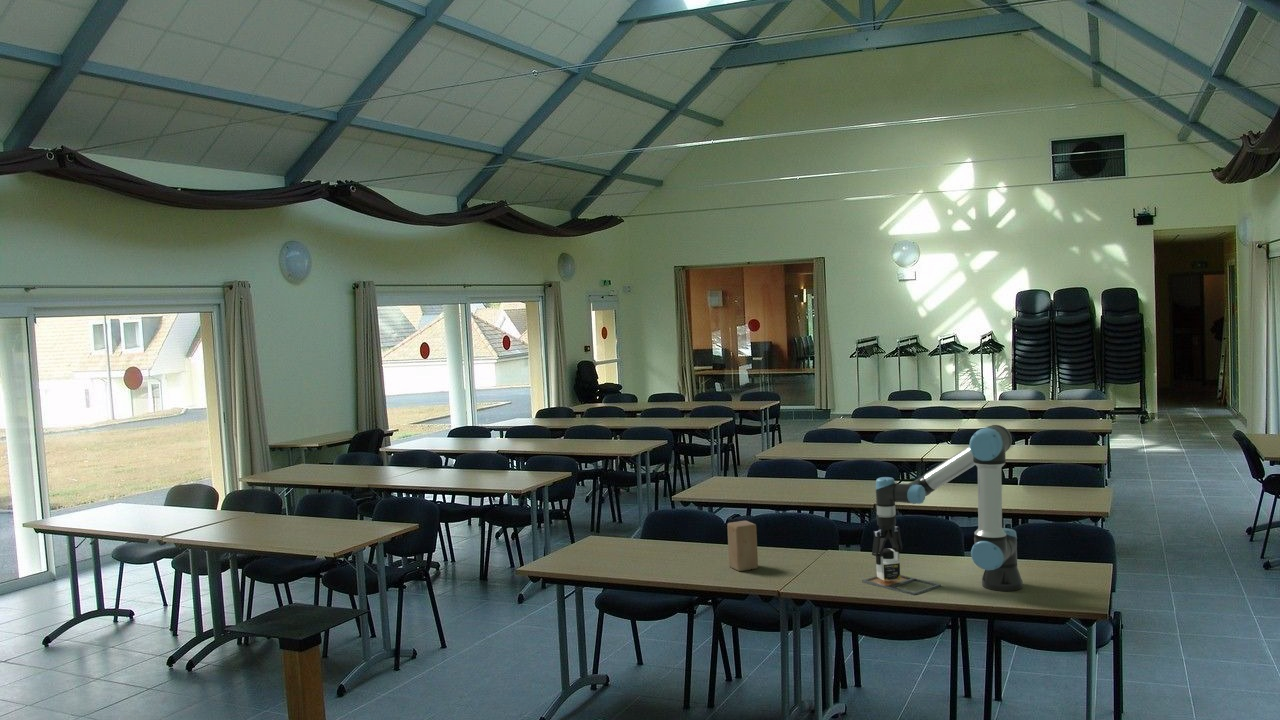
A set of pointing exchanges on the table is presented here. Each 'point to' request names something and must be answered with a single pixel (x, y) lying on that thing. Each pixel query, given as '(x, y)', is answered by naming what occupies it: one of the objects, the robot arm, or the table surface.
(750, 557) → the wooden block
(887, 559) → the medicine bottle
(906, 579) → the grey divided frame
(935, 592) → the table surface
